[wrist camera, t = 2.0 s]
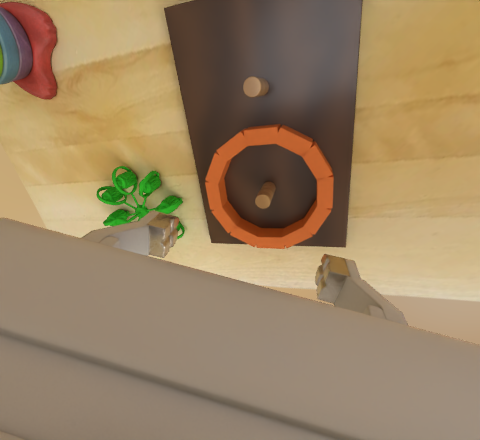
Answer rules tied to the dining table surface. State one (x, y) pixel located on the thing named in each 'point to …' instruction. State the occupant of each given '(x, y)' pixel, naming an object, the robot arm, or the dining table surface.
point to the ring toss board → (270, 101)
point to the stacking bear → (27, 49)
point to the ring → (248, 230)
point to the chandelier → (145, 186)
